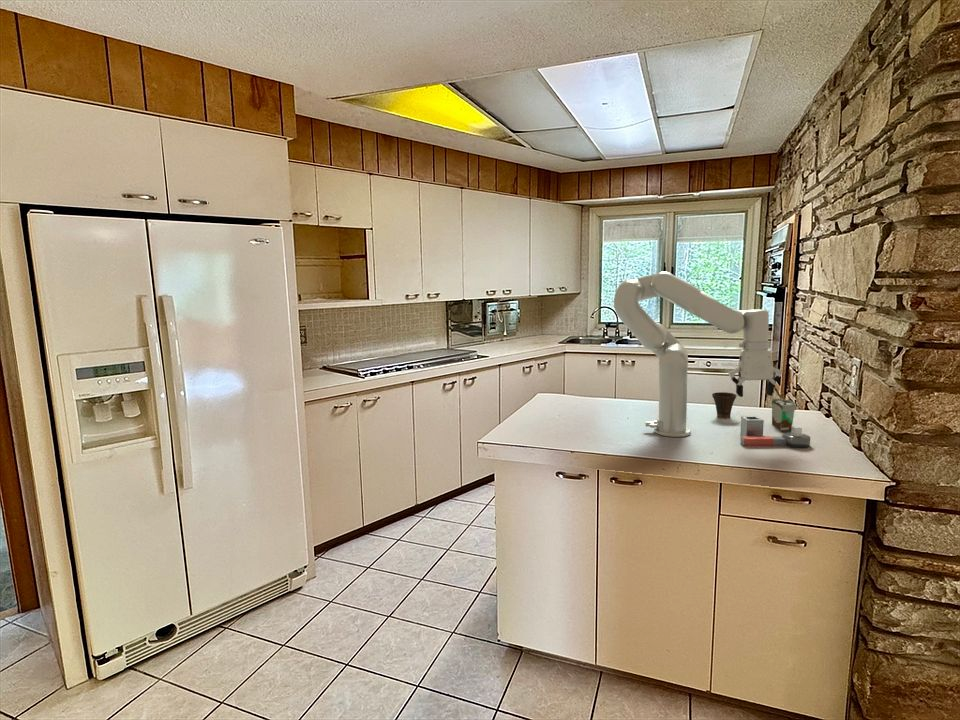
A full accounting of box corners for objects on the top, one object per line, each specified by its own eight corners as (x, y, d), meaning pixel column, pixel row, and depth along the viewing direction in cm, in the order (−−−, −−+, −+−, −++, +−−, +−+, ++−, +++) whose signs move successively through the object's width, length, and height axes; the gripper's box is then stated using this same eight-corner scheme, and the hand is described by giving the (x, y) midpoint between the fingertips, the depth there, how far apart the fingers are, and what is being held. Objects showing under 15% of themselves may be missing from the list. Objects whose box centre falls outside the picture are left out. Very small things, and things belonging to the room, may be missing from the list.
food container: (800, 433, 188) (802, 406, 187) (781, 433, 190) (783, 405, 188) (788, 424, 200) (789, 398, 199) (770, 424, 202) (771, 398, 200)
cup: (728, 420, 206) (726, 394, 206) (708, 418, 214) (706, 393, 214) (743, 417, 210) (741, 392, 210) (723, 416, 218) (721, 391, 218)
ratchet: (746, 448, 175) (747, 430, 174) (737, 441, 183) (738, 423, 182) (814, 448, 173) (815, 430, 172) (802, 441, 180) (803, 423, 180)
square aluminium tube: (746, 440, 184) (747, 420, 183) (740, 435, 189) (741, 416, 188) (762, 439, 183) (763, 420, 182) (756, 435, 188) (757, 416, 187)
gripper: (732, 348, 178) (732, 398, 181) (787, 346, 177) (786, 397, 179) (725, 346, 186) (724, 394, 188) (777, 343, 184) (776, 392, 186)
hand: (754, 395), depth 184 cm, fingers open, 9 cm apart
